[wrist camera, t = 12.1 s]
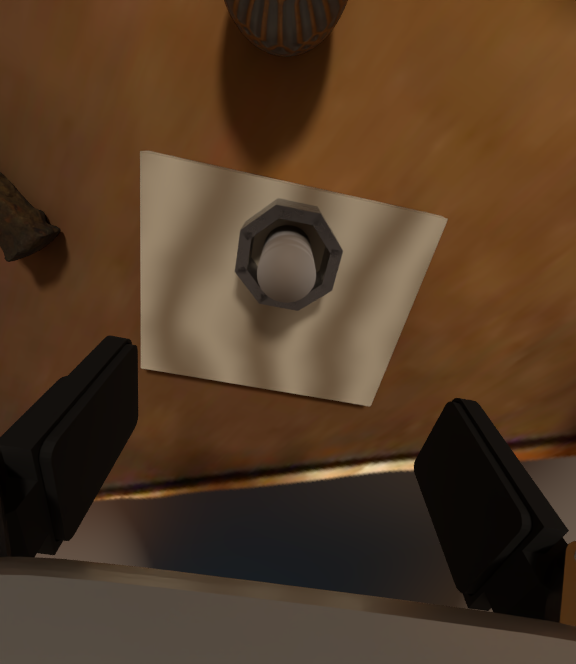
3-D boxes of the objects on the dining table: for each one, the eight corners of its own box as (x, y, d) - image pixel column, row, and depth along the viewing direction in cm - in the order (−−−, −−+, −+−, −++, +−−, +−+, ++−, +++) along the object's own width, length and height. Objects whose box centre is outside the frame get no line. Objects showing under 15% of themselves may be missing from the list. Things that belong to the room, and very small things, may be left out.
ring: (345, 212, 25) (351, 220, 22) (321, 299, 28) (325, 315, 25) (249, 191, 24) (244, 197, 22) (236, 283, 27) (231, 298, 25)
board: (439, 215, 26) (489, 238, 20) (367, 396, 35) (385, 455, 28) (148, 150, 24) (95, 152, 18) (146, 359, 33) (110, 413, 26)
